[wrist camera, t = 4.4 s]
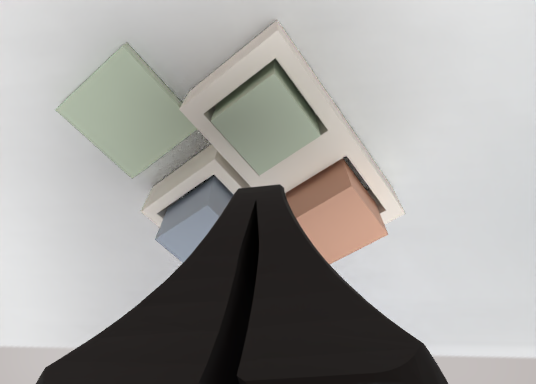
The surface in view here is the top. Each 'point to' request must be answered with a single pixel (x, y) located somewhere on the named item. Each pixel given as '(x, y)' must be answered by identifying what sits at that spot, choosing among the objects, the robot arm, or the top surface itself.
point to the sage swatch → (127, 112)
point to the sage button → (266, 118)
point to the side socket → (190, 182)
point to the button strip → (328, 115)
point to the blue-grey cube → (193, 218)
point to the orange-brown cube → (336, 212)
